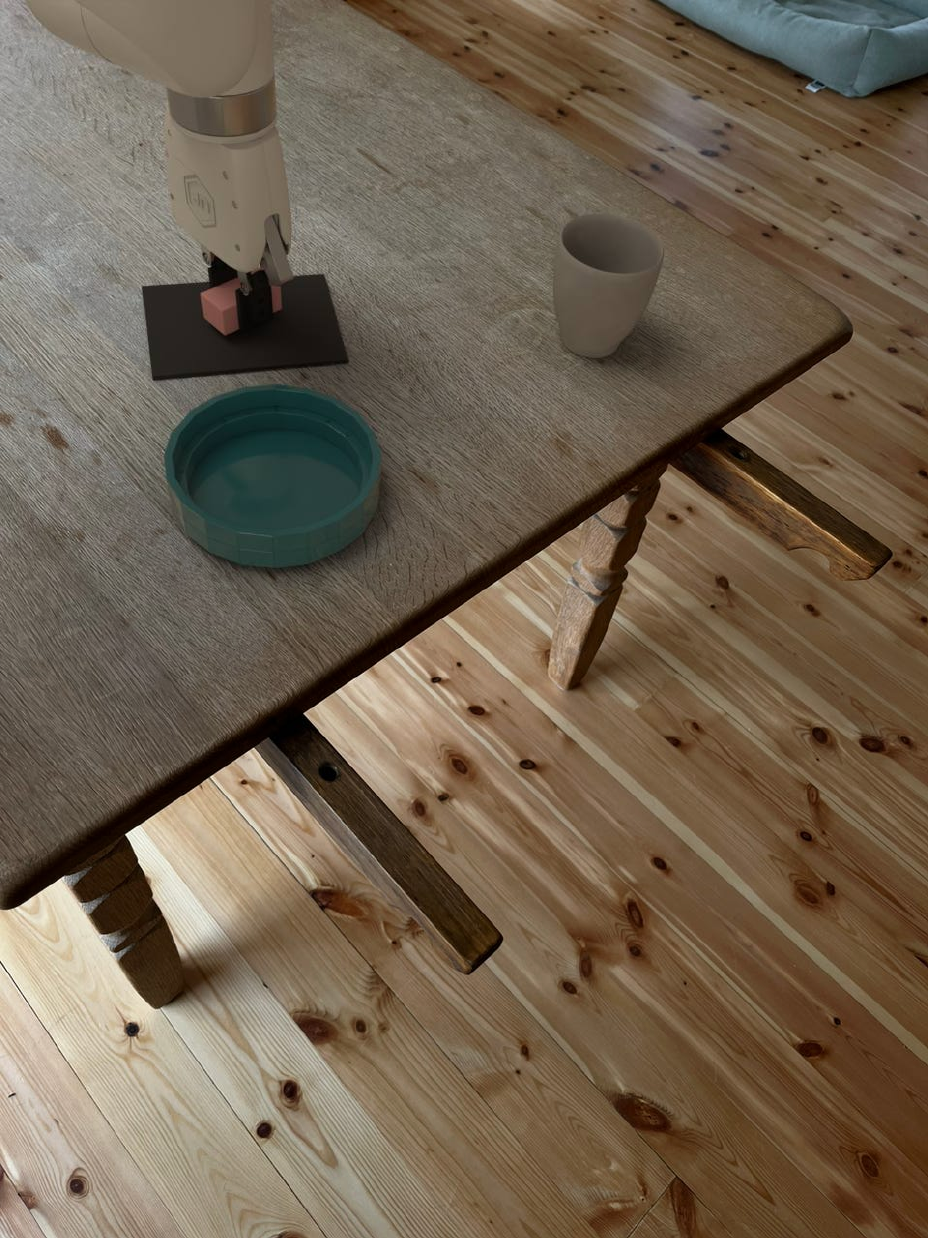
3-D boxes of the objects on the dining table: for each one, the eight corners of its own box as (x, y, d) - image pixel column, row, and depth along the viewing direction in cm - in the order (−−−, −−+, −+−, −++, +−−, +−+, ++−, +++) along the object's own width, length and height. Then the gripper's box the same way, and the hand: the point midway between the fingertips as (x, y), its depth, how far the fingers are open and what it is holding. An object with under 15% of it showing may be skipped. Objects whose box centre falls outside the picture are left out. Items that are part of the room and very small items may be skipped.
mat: (152, 380, 81) (151, 376, 81) (142, 289, 88) (141, 285, 88) (348, 363, 85) (348, 359, 85) (324, 277, 92) (324, 273, 91)
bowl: (182, 586, 69) (174, 548, 66) (164, 434, 78) (156, 394, 75) (397, 557, 73) (400, 520, 70) (357, 414, 81) (358, 376, 78)
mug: (649, 369, 88) (679, 273, 81) (553, 373, 87) (573, 276, 79) (614, 285, 95) (637, 190, 88) (523, 287, 94) (540, 191, 86)
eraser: (225, 336, 84) (222, 310, 82) (203, 317, 85) (199, 292, 83) (282, 308, 87) (281, 284, 85) (260, 291, 88) (258, 266, 86)
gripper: (109, 62, 72) (149, 283, 87) (250, 164, 66) (267, 382, 81) (197, 36, 76) (221, 252, 90) (338, 131, 70) (339, 345, 84)
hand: (242, 312), depth 85 cm, fingers closed on eraser, 2 cm apart
